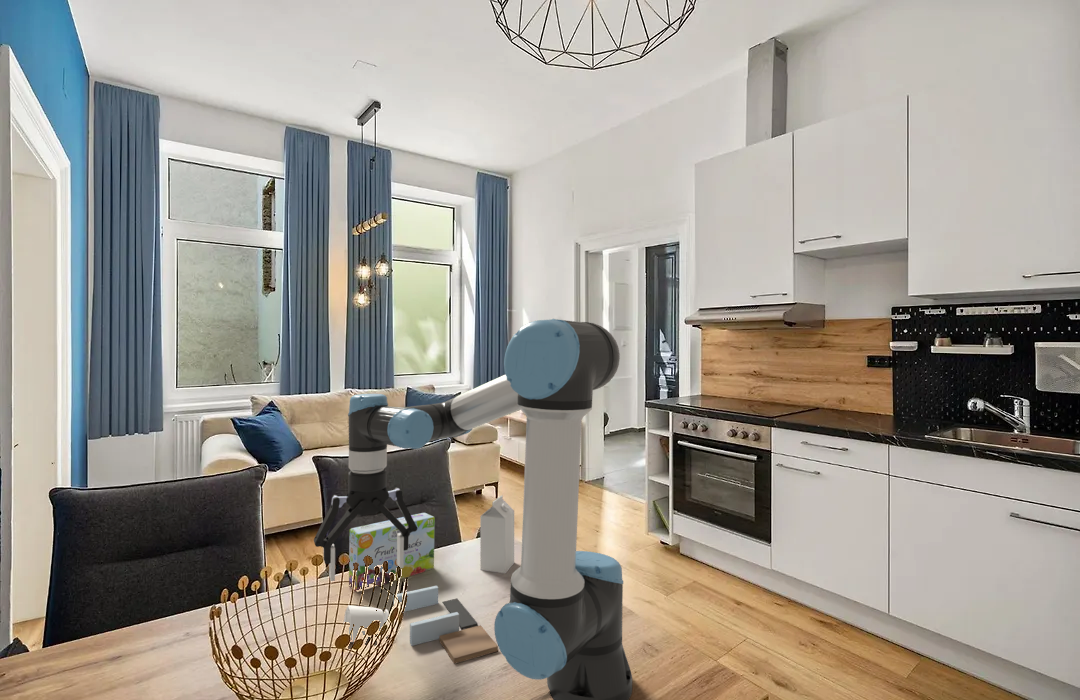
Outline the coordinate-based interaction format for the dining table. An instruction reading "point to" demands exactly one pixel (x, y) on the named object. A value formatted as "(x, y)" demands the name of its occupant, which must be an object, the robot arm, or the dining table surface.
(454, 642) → the trivet
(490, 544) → the milk carton
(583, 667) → the robot arm
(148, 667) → the dining table surface
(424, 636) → the channel
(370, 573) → the snack box
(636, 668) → the dining table surface
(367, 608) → the cup
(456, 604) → the mat
